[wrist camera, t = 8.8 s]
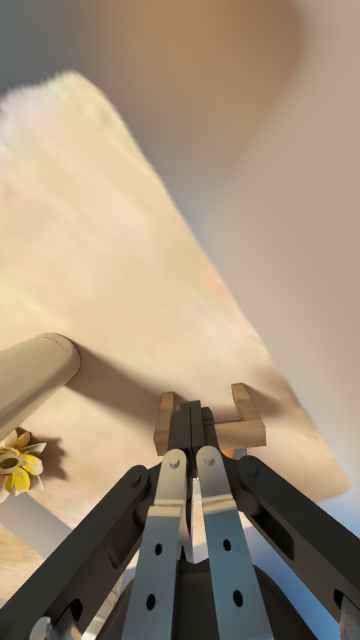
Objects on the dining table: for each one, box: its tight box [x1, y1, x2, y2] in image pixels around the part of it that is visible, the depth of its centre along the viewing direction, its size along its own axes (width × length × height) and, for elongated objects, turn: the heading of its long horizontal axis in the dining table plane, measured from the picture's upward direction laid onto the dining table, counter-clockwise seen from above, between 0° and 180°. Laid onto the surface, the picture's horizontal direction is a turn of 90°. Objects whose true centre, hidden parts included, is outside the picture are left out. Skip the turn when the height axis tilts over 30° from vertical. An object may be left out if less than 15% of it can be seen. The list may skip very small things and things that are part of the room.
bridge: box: [153, 383, 266, 456], centre depth 27 cm, size 3×14×9 cm, turn 100°
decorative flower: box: [0, 430, 46, 503], centre depth 33 cm, size 15×11×10 cm
